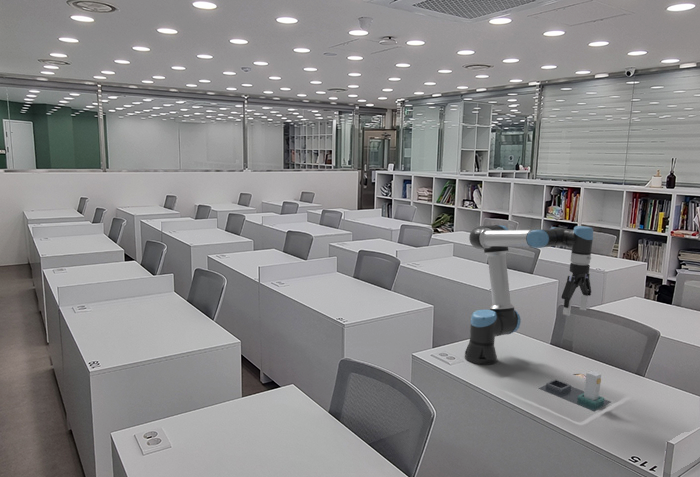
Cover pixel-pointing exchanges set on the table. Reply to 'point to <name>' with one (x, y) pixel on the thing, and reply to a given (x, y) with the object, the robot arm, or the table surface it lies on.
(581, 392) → the panel
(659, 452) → the table surface
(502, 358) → the table surface
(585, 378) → the smartphone
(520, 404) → the table surface
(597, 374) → the plug
